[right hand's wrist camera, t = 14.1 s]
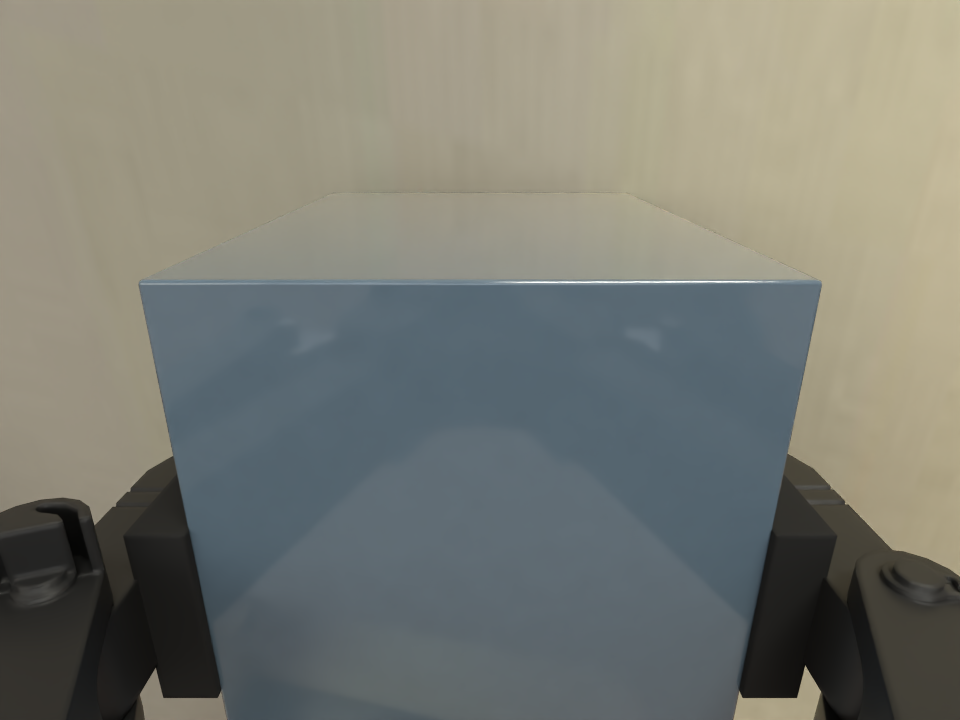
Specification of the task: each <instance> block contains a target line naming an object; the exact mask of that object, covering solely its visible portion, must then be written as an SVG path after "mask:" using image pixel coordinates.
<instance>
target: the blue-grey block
mask: <svg viewBox="0 0 960 720" xmlns="http://www.w3.org/2000/svg"><path fill="white" fill-rule="evenodd" d="M821 287H822V283H821V281H820V280H818V279H816V278H814V277H811V276H809V275H807V274H805V273H803V272H800V271H798V270H796V269H794V268H792V267H789V266H787V265H785V264H783V263H781V262H778V261H776V260H774V259H772V258H770V257H767V256H765V255H763V254H761V253H759V252H756V251H754V250H752V249H750V248H748V247H745V246H743V245H741V244H739V243H737V242H734V241H732V240H730V239H728V238H726V237H723V236H721V235H719V234H717V233H715V232H712V231H710V230H708V229H706V228H704V227H701V226H699V225H697V224H695V223H693V222H690V221H688V220H686V219H684V218H682V217H679V216H677V215H675V214H673V213H671V212H668V211H666V210H664V209H662V208H660V207H657V206H655V205H653V204H651V203H649V202H646V201H644V200H642V199H640V198H638V197H635V196H633V195H631V194H629V193H332V194H329V195H327V196H325V197H323V198H321V199H318V200H316V201H314V202H312V203H310V204H307V205H305V206H303V207H301V208H299V209H296V210H294V211H292V212H290V213H288V214H285V215H283V216H281V217H279V218H277V219H274V220H272V221H270V222H268V223H266V224H263V225H261V226H259V227H257V228H255V229H252V230H250V231H248V232H246V233H244V234H241V235H239V236H237V237H235V238H233V239H230V240H228V241H226V242H224V243H222V244H219V245H217V246H215V247H213V248H211V249H208V250H206V251H204V252H202V253H200V254H197V255H195V256H193V257H191V258H189V259H186V260H184V261H182V262H180V263H178V264H175V265H173V266H171V267H169V268H167V269H165V270H162V271H160V272H158V273H156V274H154V275H151V276H149V277H147V278H145V279H143V280H140V281H139V289H140V294H141V299H142V304H143V309H144V314H145V319H146V324H147V328H148V333H149V338H150V343H151V348H152V353H153V358H154V363H155V368H156V373H157V378H158V383H159V387H160V392H161V397H162V402H163V407H164V412H165V417H166V422H167V427H168V432H169V437H170V442H171V446H172V451H173V456H174V461H175V466H176V471H177V476H178V481H179V486H180V491H181V496H182V501H183V506H184V510H185V515H186V520H187V525H188V529H189V533H190V538H191V543H192V548H193V552H194V557H195V562H196V567H197V572H198V577H199V582H200V587H201V592H202V597H203V602H204V607H205V612H206V617H207V621H208V626H209V631H210V636H211V641H212V646H213V651H214V656H215V661H216V666H217V671H218V676H219V681H220V685H221V692H222V697H223V702H224V707H225V712H226V717H227V720H733V719H734V714H735V709H736V704H737V699H738V694H739V688H740V683H741V678H742V673H743V668H744V663H745V658H746V653H747V648H748V643H749V638H750V634H751V629H752V624H753V619H754V614H755V609H756V604H757V599H758V594H759V589H760V584H761V579H762V574H763V570H764V565H765V560H766V555H767V550H768V545H769V540H770V535H771V530H772V527H773V522H774V517H775V513H776V508H777V503H778V498H779V493H780V488H781V483H782V478H783V473H784V468H785V463H786V459H787V454H788V449H789V444H790V439H791V434H792V429H793V424H794V419H795V414H796V409H797V405H798V400H799V395H800V390H801V385H802V380H803V375H804V370H805V365H806V360H807V355H808V350H809V346H810V341H811V336H812V331H813V326H814V321H815V316H816V311H817V306H818V301H819V296H820V292H821Z"/></svg>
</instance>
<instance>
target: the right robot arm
mask: <svg viewBox="0 0 960 720" xmlns="http://www.w3.org/2000/svg"><path fill="white" fill-rule="evenodd" d="M116 504H117V505H116V507H112V508H111V509H110V510H109V511H108V512H107V513H106V514H105V516H104V517H103V518H102V519H101V520H100V521H99V522H98V523H97V524H96V525H95V526H94V523H93V519H92V515H91V511H90V508H89V506H87V505H86V504H84V503H83V502H82V501H80V500H75V499H68V498H55V499H44V500H38V501H34V502H30V503H27V504H23V505H19V506H15V507H13V508H11V509H8V510H6V511H3V512H1V513H0V720H145V718H144V711H143V705H142V702H141V698H140V693H141V691H142V689H143V688H144V686H145V684H146V683H147V681H148V679H149V678H150V676H151V674H152V673H153V671H154V669H155V668H156V670H157V674H158V678H159V682H160V686H161V690H162V694H163V698H218V696H219V694H220V692H221V685H220V681H219V676H218V671H217V666H216V661H215V656H214V651H213V646H212V641H211V636H210V631H209V626H208V621H207V617H206V612H205V607H204V602H203V597H202V592H201V587H200V582H199V577H198V572H197V567H196V562H195V557H194V552H193V548H192V543H191V538H190V533H189V529H188V525H187V520H186V515H185V510H184V506H183V501H182V496H181V491H180V486H179V481H178V476H177V471H176V466H175V461H174V456H172V457H170V458H169V459H167V460H165V461H164V462H162V463H160V464H158V465H157V466H155V467H153V468H152V469H150V470H148V471H147V472H146V473H145V474H144V475H143V476H142V477H141V478H140V479H139V480H138V481H137V482H136V483H135V484H134V485H133V486H132V487H131V491H130V492H127V493H126V494H125V495H124V496H123V497H122V498H121V499H120V500H119V501H118V502H117V503H116ZM805 665H806V667H807V669H808V670H809V672H810V674H811V675H812V677H813V679H814V680H815V682H816V684H817V685H818V687H819V689H820V690H821V694H820V698H819V702H818V705H817V709H816V713H815V717H814V720H960V577H959V576H958V575H957V574H955V573H954V572H952V571H951V570H950V569H948V568H946V567H944V566H941V565H939V564H937V563H935V562H933V561H931V560H929V559H927V558H924V557H920V556H917V555H913V554H910V553H907V552H903V551H893V550H892V549H891V548H890V547H889V546H888V545H887V544H886V543H885V542H884V541H883V540H882V539H881V538H880V537H879V536H878V535H877V534H876V533H875V532H874V531H873V530H872V529H871V528H870V527H869V526H868V525H867V523H866V522H865V521H864V520H863V519H862V518H861V517H860V516H859V515H858V514H857V513H856V512H855V511H854V510H853V509H852V508H851V507H850V506H849V505H845V501H844V500H843V499H842V498H841V497H840V496H839V495H838V494H837V493H836V492H835V491H834V490H831V489H830V485H829V484H828V483H827V482H826V481H825V480H824V479H823V478H822V477H821V476H820V475H819V474H818V473H817V472H816V471H815V470H814V469H813V468H811V467H809V466H808V465H806V464H804V463H803V462H801V461H799V460H797V459H796V458H794V457H792V456H790V455H789V454H787V459H786V463H785V468H784V473H783V478H782V483H781V488H780V493H779V498H778V503H777V508H776V513H775V517H774V522H773V527H772V530H771V535H770V540H769V545H768V550H767V555H766V560H765V565H764V570H763V574H762V579H761V584H760V589H759V594H758V599H757V604H756V609H755V614H754V619H753V624H752V629H751V634H750V638H749V643H748V648H747V653H746V658H745V663H744V668H743V673H742V678H741V683H740V688H739V691H740V693H741V695H742V697H743V698H797V696H798V692H799V688H800V684H801V680H802V676H803V672H804V668H805Z"/></svg>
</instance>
